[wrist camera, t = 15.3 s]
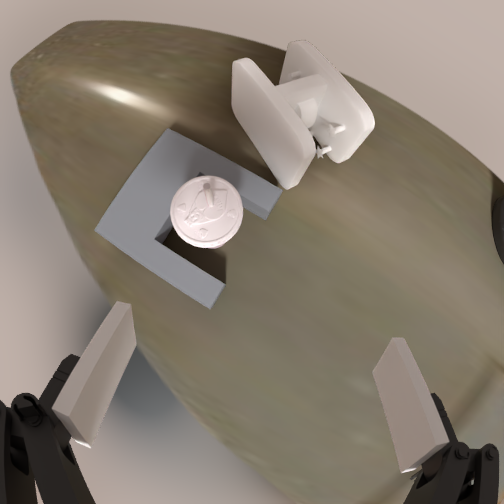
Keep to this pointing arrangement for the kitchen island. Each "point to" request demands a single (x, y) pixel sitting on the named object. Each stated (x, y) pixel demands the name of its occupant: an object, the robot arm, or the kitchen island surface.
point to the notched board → (159, 202)
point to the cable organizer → (299, 112)
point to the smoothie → (206, 211)
